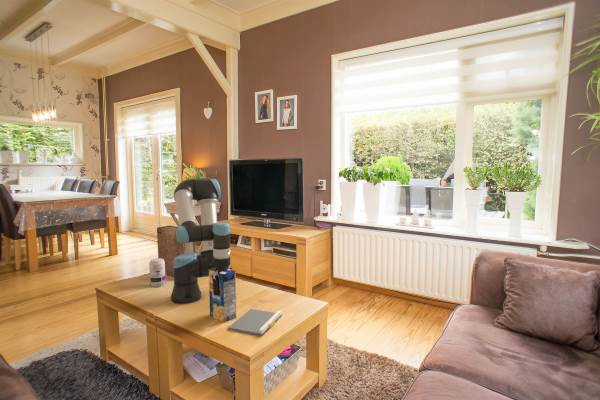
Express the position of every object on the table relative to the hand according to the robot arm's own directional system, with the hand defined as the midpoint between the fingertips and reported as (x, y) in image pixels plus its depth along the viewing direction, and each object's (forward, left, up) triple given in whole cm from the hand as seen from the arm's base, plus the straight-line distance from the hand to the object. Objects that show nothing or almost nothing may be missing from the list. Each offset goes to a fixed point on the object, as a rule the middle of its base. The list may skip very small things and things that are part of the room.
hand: (222, 307), depth 153 cm
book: (-62, +43, -5) cm, 76 cm away
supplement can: (-59, +23, -5) cm, 64 cm away
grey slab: (+17, 0, -5) cm, 18 cm away
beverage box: (0, 0, -5) cm, 5 cm away
